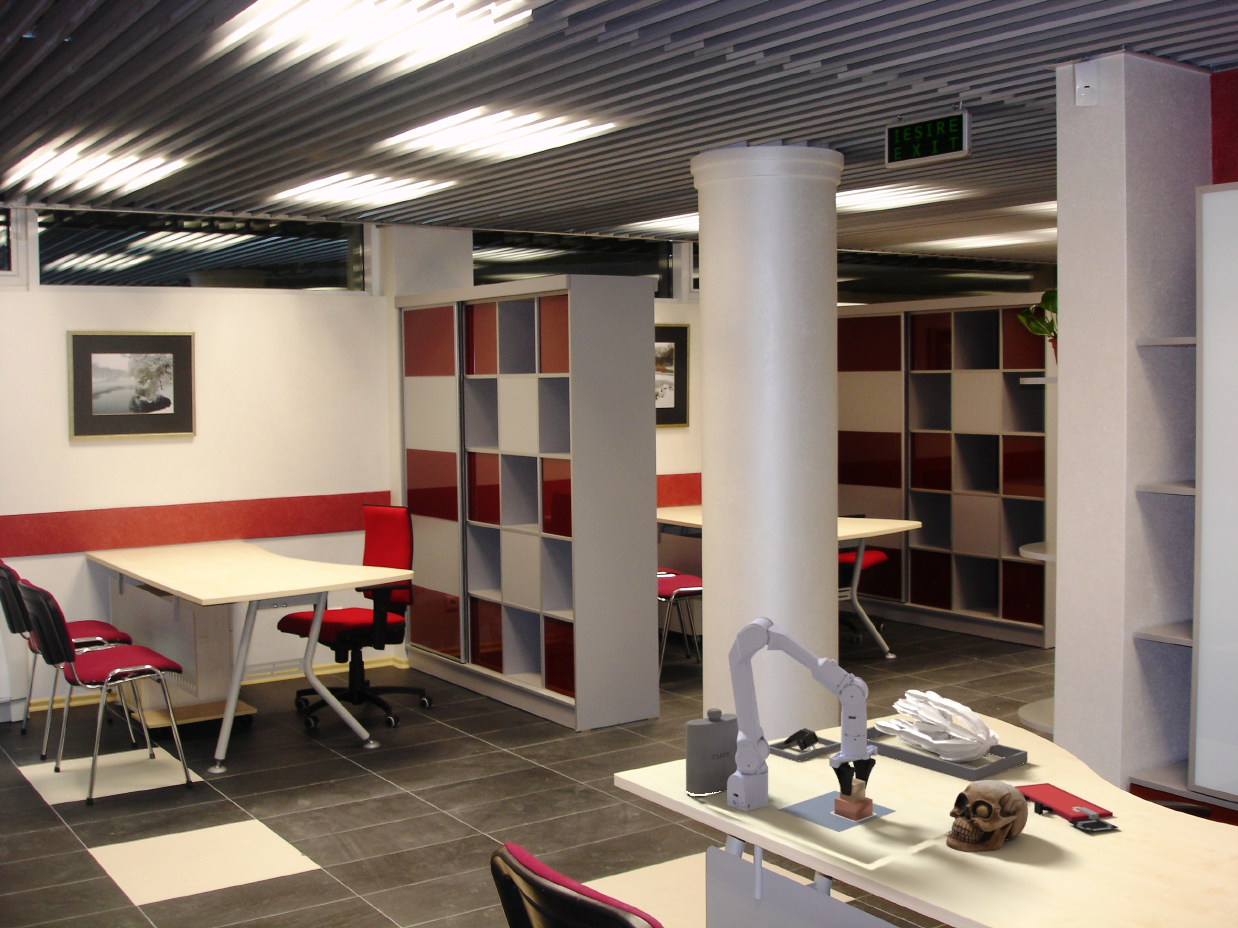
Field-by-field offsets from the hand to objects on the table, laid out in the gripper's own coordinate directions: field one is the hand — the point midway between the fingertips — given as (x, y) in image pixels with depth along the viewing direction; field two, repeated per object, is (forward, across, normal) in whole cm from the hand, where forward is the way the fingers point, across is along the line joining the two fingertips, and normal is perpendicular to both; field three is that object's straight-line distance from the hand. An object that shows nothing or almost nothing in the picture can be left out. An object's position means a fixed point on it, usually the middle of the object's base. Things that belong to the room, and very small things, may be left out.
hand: (853, 792), depth 264 cm
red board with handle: (+7, +41, -27) cm, 50 cm away
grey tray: (+6, +54, +17) cm, 57 cm away
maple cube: (+2, 0, 0) cm, 2 cm away
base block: (+5, 0, 0) cm, 5 cm away
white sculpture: (+6, +55, +17) cm, 58 cm away
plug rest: (+6, +30, +42) cm, 52 cm away
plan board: (+6, -1, +4) cm, 7 cm away
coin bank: (+6, +12, -26) cm, 30 cm away
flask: (+6, -11, +34) cm, 36 cm away
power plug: (+7, +29, +43) cm, 52 cm away
